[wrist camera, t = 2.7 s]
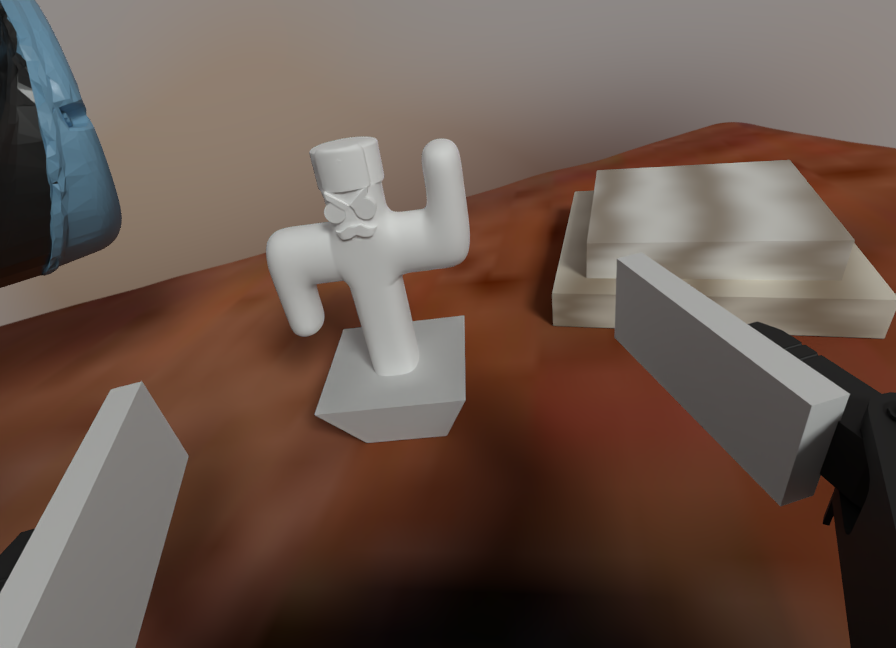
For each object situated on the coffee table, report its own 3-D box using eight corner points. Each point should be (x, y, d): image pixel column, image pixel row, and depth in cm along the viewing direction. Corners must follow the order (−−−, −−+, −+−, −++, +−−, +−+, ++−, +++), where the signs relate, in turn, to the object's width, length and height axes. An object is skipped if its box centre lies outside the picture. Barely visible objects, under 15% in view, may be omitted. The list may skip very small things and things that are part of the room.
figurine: (341, 378, 32) (258, 135, 24) (489, 362, 31) (456, 105, 23) (314, 468, 26) (191, 185, 18) (496, 452, 25) (455, 146, 17)
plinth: (553, 325, 33) (550, 258, 31) (575, 217, 47) (574, 164, 45) (884, 338, 28) (917, 257, 25) (798, 211, 42) (813, 150, 39)
